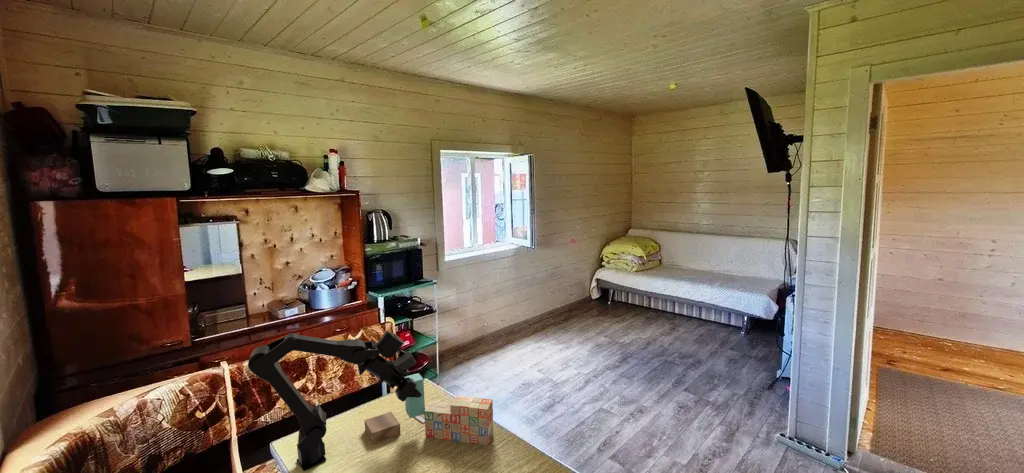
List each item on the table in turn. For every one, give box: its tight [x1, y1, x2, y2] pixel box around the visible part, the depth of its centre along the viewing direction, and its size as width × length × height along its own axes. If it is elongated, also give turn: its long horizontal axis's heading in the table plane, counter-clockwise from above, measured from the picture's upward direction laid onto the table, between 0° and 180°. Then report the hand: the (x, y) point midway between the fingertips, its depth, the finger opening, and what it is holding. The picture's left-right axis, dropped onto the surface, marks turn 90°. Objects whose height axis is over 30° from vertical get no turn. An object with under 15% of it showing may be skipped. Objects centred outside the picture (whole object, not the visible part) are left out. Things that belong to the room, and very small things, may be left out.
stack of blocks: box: [424, 395, 494, 446], centre depth 138 cm, size 21×6×12 cm, turn 76°
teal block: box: [404, 372, 426, 419], centre depth 139 cm, size 5×5×12 cm
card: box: [415, 414, 425, 424], centre depth 152 cm, size 10×7×1 cm
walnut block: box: [363, 411, 401, 445], centre depth 141 cm, size 9×9×4 cm
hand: (418, 392), depth 140 cm, fingers closed on teal block, 5 cm apart
